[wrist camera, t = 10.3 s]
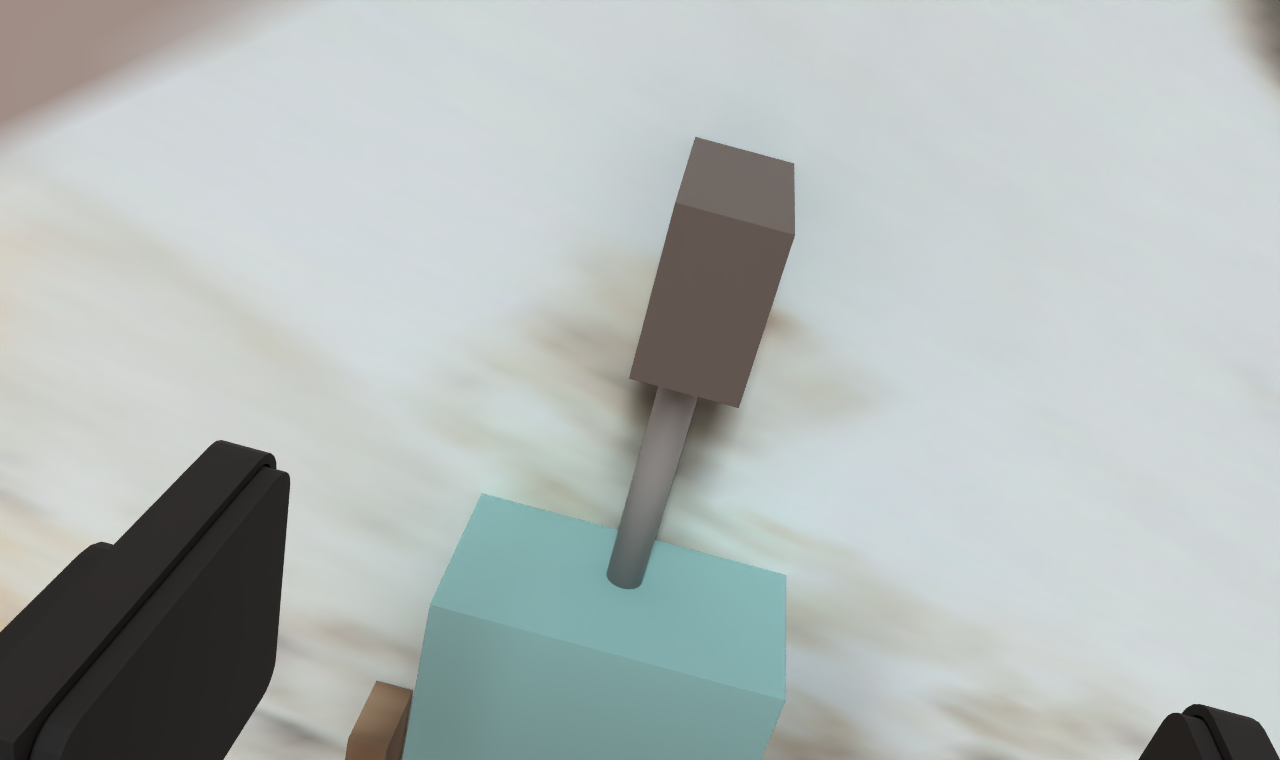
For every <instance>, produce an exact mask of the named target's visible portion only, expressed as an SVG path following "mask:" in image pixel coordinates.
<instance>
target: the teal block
mask: <svg viewBox="0 0 1280 760" xmlns="http://www.w3.org/2000/svg"><path fill="white" fill-rule="evenodd" d="M794 236H795V201H794V164H793V163H790V162H786V161H782V160H779V159H775V158H771V157H767V156H764V155H760V154H756V153H753V152H749V151H745V150H741V149H738V148H734V147H730V146H727V145H723V144H719V143H716V142H712V141H708V140H704V139H701V138H697V137H695V140H694V144H693V147H692V150H691V153H690V157H689V160H688V163H687V166H686V170H685V173H684V176H683V179H682V183H681V186H680V189H679V192H678V196H677V199H676V202H675V206H674V210H673V213H672V217H671V221H670V225H669V229H668V232H667V236H666V240H665V244H664V248H663V251H662V255H661V259H660V263H659V267H658V270H657V274H656V278H655V282H654V286H653V289H652V293H651V297H650V301H649V305H648V308H647V312H646V316H645V320H644V324H643V327H642V331H641V335H640V339H639V343H638V346H637V350H636V354H635V358H634V362H633V365H632V369H631V373H630V377H629V379H633V380H637V381H640V382H644V383H648V384H651V385H655V386H658V390H657V393H656V397H655V401H654V404H653V408H652V411H651V415H650V418H649V422H648V426H647V429H646V433H645V436H644V440H643V444H642V447H641V451H640V454H639V458H638V461H637V465H636V469H635V472H634V476H633V479H632V483H631V486H630V490H629V494H628V497H627V501H626V504H625V508H624V512H623V515H622V519H621V522H620V526H619V529H618V530H617V529H613V528H609V527H605V526H602V525H598V524H594V523H591V522H587V521H583V520H580V519H576V518H572V517H568V516H565V515H561V514H557V513H554V512H550V511H546V510H542V509H539V508H535V507H531V506H528V505H524V504H520V503H516V502H513V501H509V500H505V499H502V498H498V497H494V496H490V495H487V494H483V493H482V494H481V496H480V499H479V501H478V503H477V505H476V507H475V509H474V511H473V514H472V516H471V518H470V520H469V522H468V524H467V526H466V529H465V531H464V533H463V535H462V537H461V539H460V542H459V544H458V546H457V548H456V550H455V552H454V554H453V557H452V559H451V561H450V563H449V565H448V567H447V570H446V572H445V574H444V576H443V578H442V580H441V582H440V585H439V587H438V589H437V591H436V593H435V595H434V597H433V600H432V602H431V604H430V608H429V614H428V620H427V625H426V631H425V636H424V642H423V647H422V653H421V658H420V664H419V669H418V675H417V680H416V686H415V691H414V697H413V702H412V708H411V713H410V719H409V724H408V730H407V735H406V741H405V747H404V752H403V758H402V760H761V758H762V756H763V753H764V751H765V749H766V746H767V744H768V741H769V739H770V736H771V734H772V732H773V729H774V727H775V724H776V722H777V720H778V717H779V715H780V712H781V710H782V707H783V705H784V703H785V672H786V575H784V574H780V573H776V572H773V571H769V570H765V569H761V568H758V567H754V566H750V565H747V564H743V563H739V562H735V561H732V560H728V559H724V558H721V557H717V556H713V555H709V554H706V553H702V552H698V551H695V550H691V549H687V548H683V547H680V546H676V545H672V544H669V543H665V542H661V541H657V540H655V538H656V535H657V532H658V528H659V525H660V522H661V518H662V515H663V512H664V509H665V505H666V502H667V499H668V495H669V492H670V489H671V485H672V482H673V479H674V475H675V472H676V469H677V465H678V462H679V459H680V456H681V452H682V449H683V446H684V442H685V439H686V436H687V432H688V429H689V426H690V422H691V419H692V416H693V412H694V409H695V406H696V402H697V399H698V397H700V398H703V399H707V400H711V401H714V402H718V403H722V404H725V405H729V406H733V407H737V408H739V405H740V402H741V399H742V396H743V393H744V390H745V387H746V384H747V381H748V378H749V375H750V372H751V368H752V365H753V362H754V359H755V356H756V353H757V350H758V347H759V344H760V341H761V338H762V335H763V331H764V328H765V325H766V322H767V319H768V316H769V313H770V310H771V307H772V304H773V301H774V298H775V295H776V291H777V288H778V285H779V282H780V279H781V276H782V273H783V270H784V267H785V264H786V261H787V258H788V254H789V251H790V248H791V245H792V242H793V239H794Z"/></svg>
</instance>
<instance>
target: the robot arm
mask: <svg viewBox="0 0 1280 760" xmlns="http://www.w3.org/2000/svg"><path fill="white" fill-rule="evenodd" d="M289 492H290V477H289V474H288V473H287V472H284V471H280V470H276V460H275V457H274V456H273V455H272V454H271V453H267V452H264V451H260V450H256V449H253V448H249V447H245V446H241V445H238V444H234V443H230V442H227V441H223V440H220V441H216V442H214V443H213V444H212V445H211V446H209V447H208V448H207V450H206V451H205V452H204V453H203V454H202V455H201V456H200V457H199V458H198V459H197V460H196V461H195V462H194V463H193V464H192V465H191V466H190V467H189V468H188V469H187V470H186V471H185V472H184V473H183V474H182V475H181V476H180V477H179V478H178V479H177V480H176V481H175V482H174V483H173V484H172V485H171V486H170V488H169V489H168V490H167V491H166V492H165V493H164V494H163V495H162V496H161V497H160V498H159V499H158V500H157V501H156V502H155V503H154V504H153V505H152V506H151V507H150V508H149V509H148V510H147V511H146V512H145V513H144V514H143V515H142V516H141V517H140V518H139V519H138V520H137V521H136V522H135V523H134V524H133V526H132V527H131V528H130V529H129V530H128V531H127V532H126V533H125V534H124V535H123V536H122V537H121V538H120V539H119V540H118V541H117V542H116V543H115V544H114V545H112V544H108V543H105V542H99V543H96V544H93V545H90V546H89V547H88V548H87V549H85V550H84V551H83V552H81V553H80V554H79V555H78V556H77V557H76V558H75V559H74V560H73V561H72V562H71V563H70V564H69V565H68V566H67V567H66V568H65V569H64V570H63V571H62V572H61V573H60V574H59V575H58V576H57V577H56V578H55V579H54V580H53V581H52V582H51V583H50V584H49V585H48V586H47V587H46V588H45V589H44V590H43V591H42V592H41V593H40V594H39V595H38V596H37V597H35V598H34V599H33V600H32V601H31V602H30V603H29V604H28V605H27V606H26V607H25V608H24V609H23V610H22V611H21V612H20V613H19V614H18V615H17V616H16V617H15V618H14V619H13V620H12V621H11V622H10V623H9V624H8V625H7V626H6V627H5V628H4V629H3V630H2V631H1V632H0V760H223V759H224V758H225V756H226V755H227V753H228V751H229V750H230V748H231V747H232V745H233V743H234V742H235V740H236V739H237V737H238V736H239V734H240V732H241V731H242V729H243V728H244V726H245V724H246V723H247V721H248V720H249V718H250V716H251V715H252V713H253V712H254V710H255V708H256V707H257V705H258V704H259V702H260V700H261V699H262V697H263V695H264V694H265V692H266V690H267V687H268V685H269V683H270V680H271V677H272V674H273V670H274V667H275V660H276V650H277V637H278V625H279V613H280V601H281V589H282V577H283V565H284V553H285V540H286V528H287V516H288V504H289ZM1139 760H1280V759H1279V757H1278V755H1277V753H1276V751H1275V749H1274V747H1273V745H1272V743H1271V741H1270V739H1269V738H1268V736H1267V734H1266V732H1265V730H1264V729H1263V727H1262V726H1261V725H1260V723H1259V722H1257V721H1256V720H1254V719H1252V718H1250V717H1246V716H1242V715H1238V714H1235V713H1231V712H1227V711H1224V710H1220V709H1216V708H1213V707H1209V706H1205V705H1201V704H1193V705H1191V706H1189V707H1188V708H1186V709H1185V710H1184V712H1183V713H1182V714H1180V713H1172V714H1170V715H1168V716H1167V717H1166V718H1165V719H1164V721H1163V722H1162V724H1161V725H1160V727H1159V728H1158V730H1157V731H1156V733H1155V735H1154V736H1153V738H1152V739H1151V741H1150V742H1149V744H1148V746H1147V747H1146V749H1145V750H1144V752H1143V753H1142V755H1141V756H1140V758H1139Z"/></svg>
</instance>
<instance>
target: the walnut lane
mask: <svg viewBox="0 0 1280 760" xmlns="http://www.w3.org/2000/svg"><path fill="white" fill-rule="evenodd" d="M411 697H412V690H408V689H404V688H401V687H397V686H393V685H389V684H386V683H382V682H378V681H376V683H375V685H374V687H373V689H372V691H371V693H370V695H369V697H368V699H367V702H366V704H365V706H364V708H363V710H362V712H361V714H360V716H359V718H358V720H357V722H356V724H355V726H354V728H353V730H352V732H351V734H350V736H349V739H348V744H347V751H346V758H345V760H400V758H401V752H402V747H403V741H404V736H405V730H406V724H407V719H408V713H409V708H410V702H411Z"/></svg>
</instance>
